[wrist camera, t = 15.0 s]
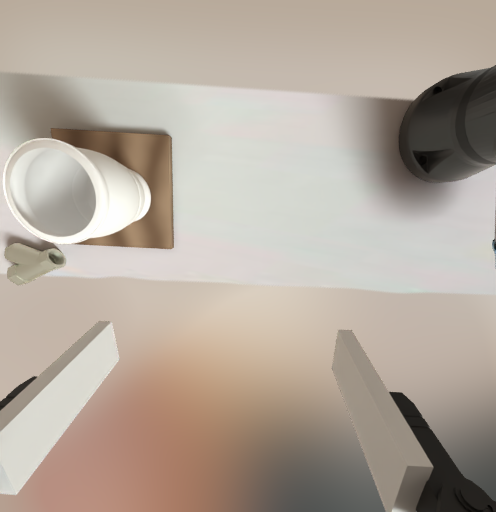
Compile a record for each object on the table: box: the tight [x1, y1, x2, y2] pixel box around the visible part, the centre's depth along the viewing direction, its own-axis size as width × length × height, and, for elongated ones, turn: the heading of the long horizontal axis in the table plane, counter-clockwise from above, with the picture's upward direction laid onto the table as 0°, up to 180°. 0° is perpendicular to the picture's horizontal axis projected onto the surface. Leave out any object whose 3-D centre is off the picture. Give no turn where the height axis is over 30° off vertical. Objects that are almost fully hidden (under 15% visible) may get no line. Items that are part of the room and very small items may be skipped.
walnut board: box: [51, 128, 174, 249], centre depth 39 cm, size 18×18×2 cm
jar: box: [3, 138, 151, 244], centre depth 31 cm, size 11×10×15 cm
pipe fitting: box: [4, 243, 66, 285], centre depth 41 cm, size 8×4×7 cm
